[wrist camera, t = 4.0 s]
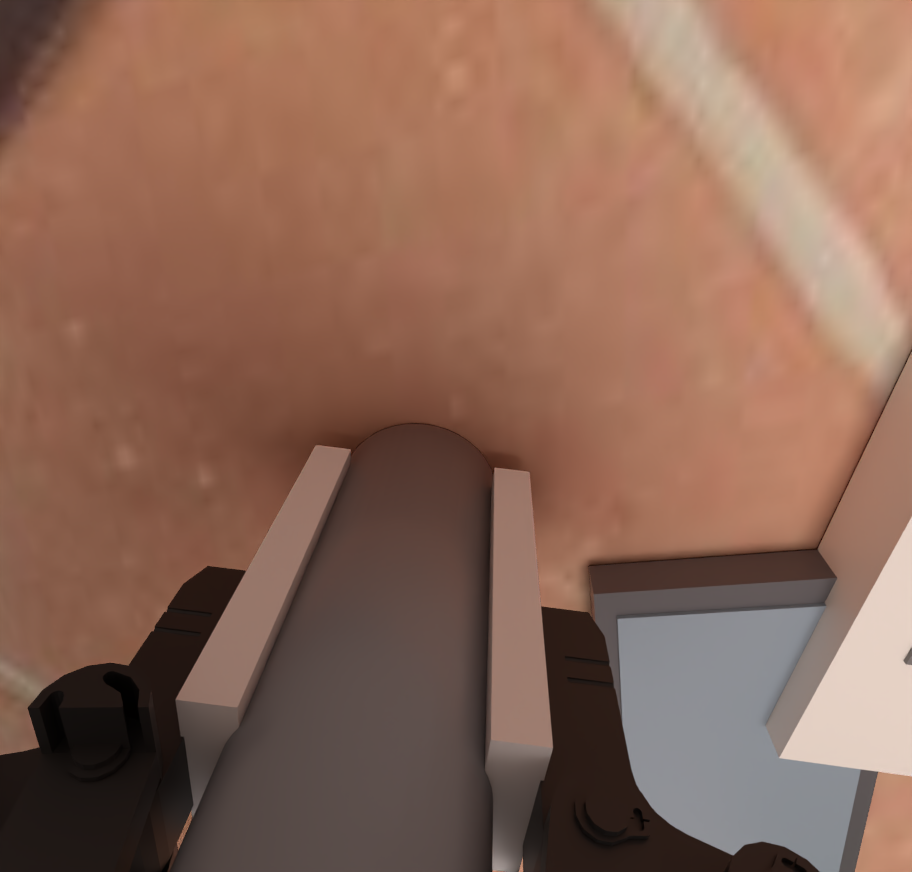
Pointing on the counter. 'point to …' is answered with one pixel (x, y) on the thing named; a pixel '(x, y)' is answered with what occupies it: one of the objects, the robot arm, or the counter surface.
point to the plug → (371, 684)
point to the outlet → (861, 618)
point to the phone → (725, 700)
